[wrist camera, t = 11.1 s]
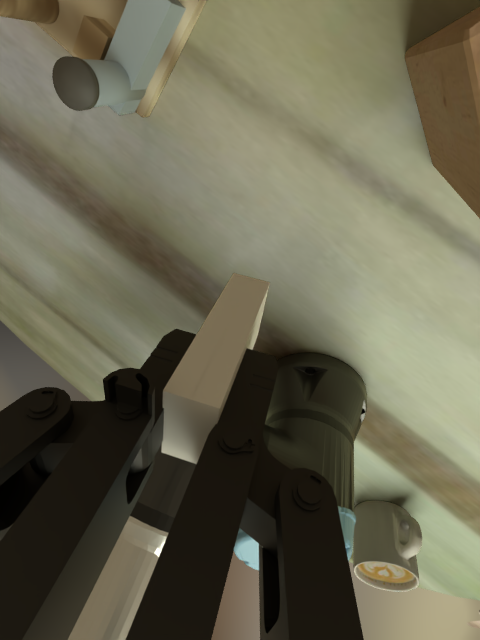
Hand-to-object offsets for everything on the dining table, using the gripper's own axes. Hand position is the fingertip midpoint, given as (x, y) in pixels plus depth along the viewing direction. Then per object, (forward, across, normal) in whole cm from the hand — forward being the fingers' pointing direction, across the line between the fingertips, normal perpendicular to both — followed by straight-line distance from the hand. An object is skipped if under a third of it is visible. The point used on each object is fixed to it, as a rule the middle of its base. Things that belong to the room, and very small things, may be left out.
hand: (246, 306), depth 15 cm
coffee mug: (+27, +30, -54) cm, 67 cm away
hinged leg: (+25, -17, +7) cm, 31 cm away
